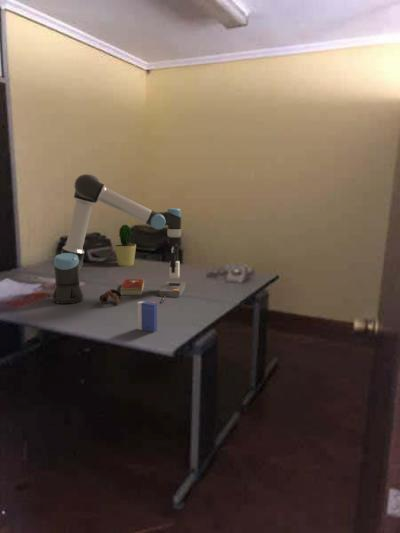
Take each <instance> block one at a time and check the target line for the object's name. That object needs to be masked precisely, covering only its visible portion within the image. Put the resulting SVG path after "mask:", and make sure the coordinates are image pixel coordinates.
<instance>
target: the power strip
mask: <svg viewBox="0 0 400 533" xmlns="http://www.w3.org/2000/svg"><path fill="white" fill-rule="evenodd" d="M185 289H186V282H183V281H166V282H165V283H164V284H163V286H162V287H161V288H160V289H159V297H162V299H161V300H160V301H159V302H160V303H161V304H162V303H163V302H164V301H165V299H166V298H167V297H170V298H171V297H174V298H175V297H176V298H180V297H181V295H182V294H183V292H184V290H185Z"/></svg>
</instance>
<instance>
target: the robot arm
mask: <svg viewBox="0 0 400 533" xmlns="http://www.w3.org/2000/svg"><path fill="white" fill-rule="evenodd" d="M73 195H74V196H73V199H74V200H75V204H74V209H73V214H72V219H71V221H70V222H71V223H70V227H69V231H68V236H67V240H66V244H65V245H64V246H62V248H61V253H58V254H57V255H55V256H54V259H53V265H54V279H55V288H54V291H53V295H52V302H53V301H55V302H58V303H72V304H76V303H75V302H77V303H80V302H82V301H83V300H84V298H85V295H84V292H83V290H82V288H81V284H80V283H81V282H80V270H81V268H82V267H83V264H84V257H85V250H84V249H83V248H84V243H85V239H86V236H87V231H88V227H89V222H90V218H91V213H92V209H93V206H94V205H96V204H97V203H102V204H104V205H106V206H108V207H110V208H113V209H115V210H116V211H119V212H121V213H123V214H124V215H128V216H129V217H131V218H133V219H136V220H137V221H140V222H142V223H144V224H145V225H146V226H149V227H152V228H153V229H154V230H155V229H156V230H162V229H163V228H164V227H166V226H167V244H170V245H171V246H170V249H169V252H170V253H169V254H170V255H169V256H170V258H169V260H170V261H169V262H170V267H171V278H170V279H177V278H176V267H175V266H176V261H179V248H180V247H179V244H181V243H182V233H183V230H182V211H181V210H182V209H181V208H179V207H177V208H176V207H174V208H172V207H169V208H167V211H154V210H152V209H150V208H149V207H146V206H144V205H142V204H140V203H138V202H136V201H134V200H132V199H129V198H128V197H125V195H121V194H119V193H117V192H116V191H113V190H112V189H110V188H107V187H106V184H104V183H102V182H100V180H99V179H98V177H96V176H95V175H93V174H87V173H86V174H82V175H79V176H78V177H77V178H76V179H75V182H74V194H73ZM79 301H80V302H79ZM55 302H54V303H55ZM58 303H57V304H58Z"/></svg>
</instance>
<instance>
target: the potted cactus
mask: <svg viewBox="0 0 400 533" xmlns="http://www.w3.org/2000/svg"><path fill="white" fill-rule="evenodd" d="M132 230H133V229H131V226H129V225H127V224H122V225H121V226H120V227H119V231H118V236H119V240H120V243H116V244H114V248H115V253H116V260H117V265H118V266H120V267H131V266H134V265H135V257H136V249H137V244H136V243H131V240H130V239H131V237H132Z"/></svg>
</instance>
